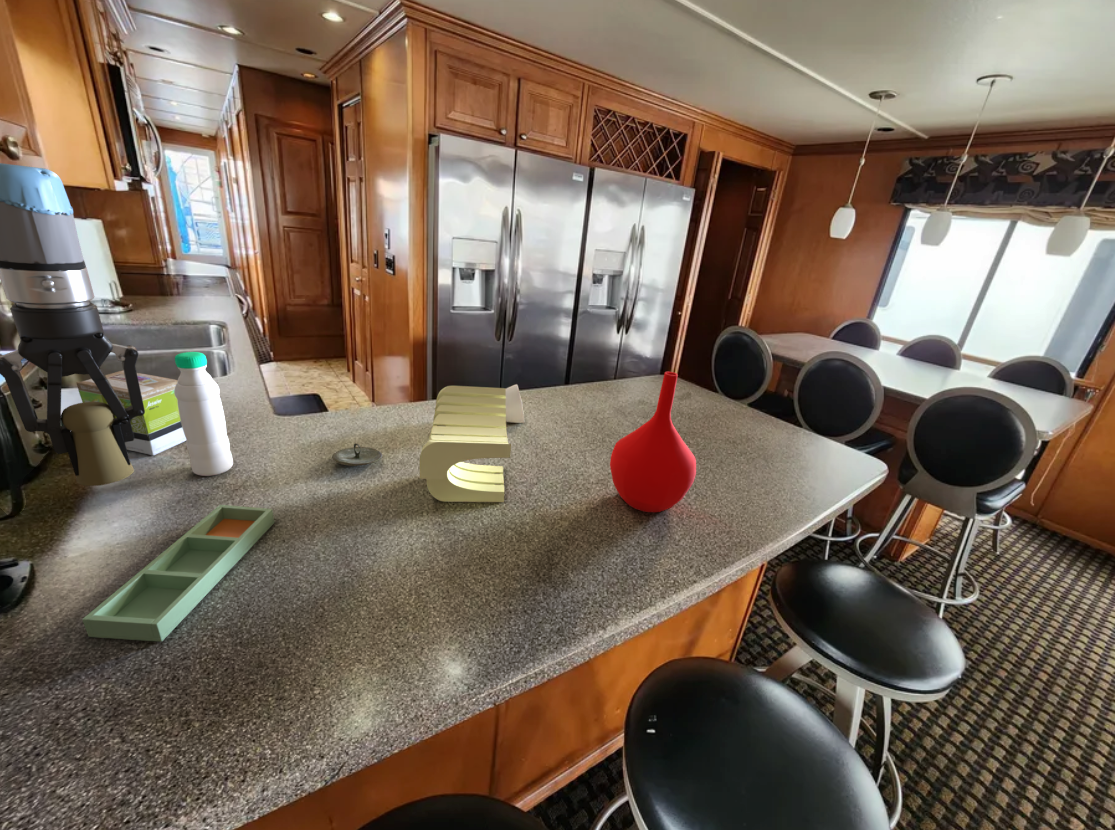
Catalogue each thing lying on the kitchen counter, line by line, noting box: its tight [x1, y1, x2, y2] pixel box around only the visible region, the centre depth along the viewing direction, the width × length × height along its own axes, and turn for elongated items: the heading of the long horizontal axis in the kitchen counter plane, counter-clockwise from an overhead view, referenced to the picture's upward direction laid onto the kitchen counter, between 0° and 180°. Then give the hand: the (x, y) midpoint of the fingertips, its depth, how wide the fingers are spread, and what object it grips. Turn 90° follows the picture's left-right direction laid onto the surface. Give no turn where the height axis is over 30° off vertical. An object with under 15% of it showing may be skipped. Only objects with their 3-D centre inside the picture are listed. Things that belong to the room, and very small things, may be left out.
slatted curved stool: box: [418, 385, 512, 503], centre depth 97 cm, size 30×16×18 cm, turn 8°
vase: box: [609, 371, 697, 514], centre depth 97 cm, size 18×18×30 cm
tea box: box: [76, 369, 187, 456], centre depth 101 cm, size 15×10×15 cm, turn 81°
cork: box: [61, 402, 135, 487], centre depth 64 cm, size 6×6×11 cm
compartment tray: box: [81, 504, 275, 643], centre depth 70 cm, size 9×26×3 cm, turn 1°
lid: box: [331, 443, 383, 467], centre depth 104 cm, size 11×10×5 cm
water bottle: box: [174, 351, 234, 477], centre depth 92 cm, size 7×7×25 cm
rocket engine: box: [505, 383, 525, 424], centre depth 133 cm, size 12×12×18 cm
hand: (103, 465), depth 66 cm, fingers closed on cork, 4 cm apart
